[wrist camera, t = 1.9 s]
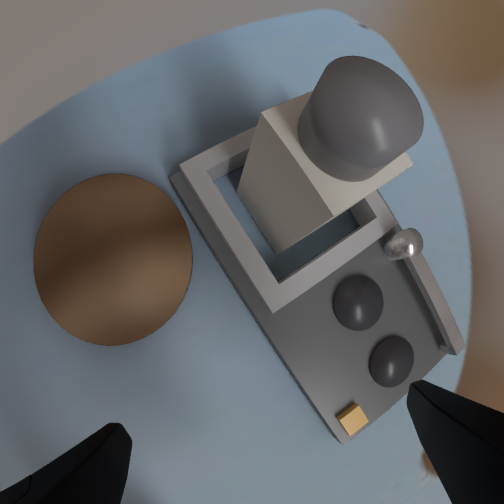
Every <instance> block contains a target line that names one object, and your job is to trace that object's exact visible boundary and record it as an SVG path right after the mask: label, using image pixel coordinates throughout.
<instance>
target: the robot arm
mask: <svg viewBox="0 0 504 504" xmlns="http://www.w3.org/2000/svg"><path fill="white" fill-rule="evenodd" d="M407 408H408V411H409V413H410V416H411V418H412V421H413V424H414V426H415V429H416V432H417V434H418V437H419V439H420V442H421V444H422V446H423V448H424V450H425V452H426V454H427V455H428V457H429V459H430V461H431V463H432V465H433V467H434V469H435V471H436V473H437V475H438V477H439V479H440V480H441V482H442V484H443V486H444V488H445V490H446V492H447V494H448V496H449V498H450V500H451V502H452V504H504V413H502V412H499V411H497V410H494V409H492V408H489V407H487V406H484V405H482V404H479V403H477V402H475V401H472V400H470V399H467V398H464V397H462V396H460V395H458V394H455V393H453V392H450V391H448V390H446V389H443V388H441V387H439V386H436V385H434V384H432V383H429V382H427V381H425V380H418V381H415V382H412V383H411V384H410V386H409V391H408V396H407ZM131 450H132V439H131V437H130V436H129V434H128V433H127V431H126V430H125V428H124V427H123V425H122V424H120V423H108V424H107V425H105V426H104V427H102V428H101V429H100V430H98V431H97V432H95V433H94V434H92V435H91V436H89V437H88V438H86V439H85V440H83V441H82V442H80V443H79V444H78V445H76V446H75V447H73V448H72V449H70V450H69V451H67V452H66V453H64V454H62V455H61V456H59V457H58V458H56V459H55V460H53V461H52V462H50V463H49V464H47V465H46V466H44V467H42V468H41V469H39V470H38V471H36V472H35V473H33V474H32V475H29V476H28V477H26V478H24V479H23V480H21V481H19V482H18V483H16V484H14V485H12V486H11V487H9V488H7V489H5V490H3V491H1V492H0V504H120V503H121V499H122V495H123V492H124V488H125V484H126V480H127V475H128V469H129V463H130V456H131Z"/></svg>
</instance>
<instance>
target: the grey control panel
mask: <svg viewBox="0 0 504 504" xmlns="http://www.w3.org/2000/svg"><path fill="white" fill-rule="evenodd" d="M255 130H256V126H254V127H252V128H250V129H248V130H246V131H244V132H242V133H240V134H238V135H235V136H233V137H231V138H229V139H227V140H225V141H223V142H221V143H219V144H217V145H215V146H213V147H211V148H209V149H208V150H206V151H204V152H202V153H200V154H198V155H196V156H194V157H192V158H190V159H189V160H187V161H185V162H183V163H181V164H179V166H180V171H179V172H177V173H176V174H174V175H172V176H170V177H169V178H170V181H171V185H172V187H173V189H174V191H175V192H176V194H177V196H178V197H179V199H180V201H181V202H182V204H183V206H184V207H185V209H186V211H187V212H188V214H189V215H190V217H191V219H192V220H193V222H194V224H195V225H196V227H197V229H198V230H199V232H200V233H201V235H202V237H203V238H204V240H205V242H206V243H207V245H208V246H209V248H210V250H211V251H212V253H213V255H214V256H215V258H216V259H217V261H218V263H219V264H220V266H221V267H222V269H223V271H224V272H225V274H226V275H227V277H228V278H229V280H230V282H231V283H232V285H233V286H234V288H235V290H236V291H237V293H238V294H239V296H240V297H241V299H242V300H243V302H244V304H245V305H246V307H247V308H248V310H249V311H250V313H251V314H252V316H253V318H254V319H255V321H256V322H257V324H258V325H259V327H260V328H261V330H262V331H263V333H264V335H265V336H266V338H267V339H268V341H269V342H270V344H271V345H272V347H273V348H274V350H275V351H276V353H277V354H278V356H279V357H280V359H281V360H282V362H283V363H284V365H285V366H286V368H287V369H288V371H289V372H290V374H291V375H292V377H293V378H294V380H295V381H296V383H297V384H298V386H299V387H300V389H301V390H302V392H303V393H304V394H305V396H306V397H307V399H308V400H309V402H310V403H311V405H312V406H313V408H314V409H315V411H316V412H317V413H318V415H319V416H320V418H321V419H322V421H323V422H324V424H325V425H326V426H327V428H328V429H329V431H330V432H331V434H332V435H333V436H334V438H335V439H336V440H337V441H338V442H339V443H340V444H342V445H344V444H346V443H347V442H349V441H350V440H351V439H352V438H354V437H355V436H356V435H358V434H359V433H360V432H362V431H363V430H364V429H365V428H367V427H368V426H369V425H370V424H372V423H373V422H374V421H375V420H377V419H378V418H379V417H380V416H381V415H382V414H384V413H385V412H386V411H387V410H388V409H390V408H391V407H392V406H393V405H394V404H395V403H396V402H397V401H399V400H400V399H401V398H402V397H403V396H404V395H405V394H406V393H407V392H408V391H409V386H410V384H411V383H412V382H415V381H418V380H421V379H422V378H423V377H424V376H425V375H426V374H427V373H428V372H429V371H430V370H431V369H432V368H433V367H434V366H435V365H436V364H437V363H438V362H439V361H440V360H441V359H442V358H443V357H444V356H445V355H446V354H445V353H443V352H442V349H441V347H440V344H441V343H442V342H443V341H444V338H443V336H442V334H441V332H440V329H439V327H438V325H437V323H436V321H435V319H434V317H433V315H432V313H431V311H430V309H429V307H428V305H427V303H426V301H425V299H424V297H423V295H422V293H421V291H420V289H419V287H418V285H417V283H416V281H415V279H414V278H413V276H412V274H411V272H410V270H409V268H408V267H407V265H406V263H405V261H404V259H401V260H397V261H392V260H389V259H388V258H387V257H386V256H385V254H384V252H383V242H384V240H385V238H386V237H388V236H390V235H392V234H395V233H398V232H400V231H403V230H402V229H401V227H400V225H399V224H398V222H397V220H396V219H395V217H394V215H393V214H392V212H391V210H390V209H389V207H388V206H387V204H386V202H385V201H384V199H383V198H382V196H381V194H380V193H379V191H378V190H375V191H374V192H372V193H371V194H370V195H368V196H367V197H365V198H364V199H362V200H361V201H359V202H358V203H356V204H355V205H353V206H352V207H350V208H349V210H350V211H351V213H352V214H353V216H354V217H355V219H356V221H357V222H358V224H359V225H360V226H359V227H358V228H356V229H355V230H354V231H352V232H351V233H349V234H348V235H346V236H345V237H343V238H342V239H341V240H339V241H338V242H336V243H335V244H333V245H332V246H330V247H329V248H327V249H326V250H324V251H323V252H322V253H320V254H319V255H317V256H316V257H314V258H313V259H311V260H310V261H308V262H307V263H305V264H304V265H302V266H301V267H299V268H298V269H296V270H295V271H293V272H292V273H290V274H289V275H287V276H286V277H284V278H283V279H281V280H280V281H278V282H277V281H276V279H275V277H274V276H273V274H272V273H271V271H270V270H269V268H268V266H267V265H266V263H265V262H264V260H263V259H262V257H261V255H260V254H259V252H258V251H257V249H256V248H255V246H254V244H253V243H252V241H251V240H250V238H249V237H248V235H247V233H246V232H245V230H244V229H243V227H242V226H241V224H240V222H239V221H238V219H237V218H236V216H235V215H234V213H233V211H232V210H231V208H230V207H229V205H228V204H227V202H226V201H225V199H224V197H223V196H222V194H221V193H220V191H219V190H218V188H217V187H216V185H215V183H214V182H213V181H215V180H217V179H218V178H220V177H222V176H224V175H226V174H228V173H229V172H231V171H233V170H235V169H237V168H239V167H241V166H243V165H244V164H245V162H246V159H247V155H248V152H249V149H250V146H251V142H252V139H253V136H254V133H255Z"/></svg>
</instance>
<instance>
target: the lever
mask: <svg viewBox="0 0 504 504" xmlns="http://www.w3.org/2000/svg"><path fill="white" fill-rule="evenodd" d="M422 248H423V239H422V236H421V234H420V233H419V232H418V231H417V230H416V229H414V228H408V229H405V230H403V231H400V232H398V233H395V234H392V235H390V236H388V237H386V238H385V240H384V242H383V252H384V254H385V256H386V257H387V258H388V259H389V260H392V261H397V260H401V259H404V261H405V263H406V265H407V267H408V268H409V270H410V272H411V274H412V276H413V278H414V279H415V281H416V283H417V285H418V287H419V289H420V291H421V293H422V295H423V297H424V299H425V301H426V303H427V305H428V307H429V309H430V311H431V313H432V315H433V317H434V319H435V321H436V323H437V325H438V327H439V329H440V332H441V334H442V336H443V338H444V341H443V342H442V343H441V344H440V347H441V349H442V352H443V353H445V354H451V355H458V354H459V352H460V351H461V350H462V349H463V348H464V347H465V343H464V340H463V338H462V336H461V333H460V331H459V329H458V326H457V324H456V322H455V319H454V317H453V315H452V313H451V311H450V308H449V306H448V304H447V302H446V300H445V298H444V296H443V294H442V292H441V290H440V288H439V285H438V283H437V281H436V279H435V277H434V276H433V274H432V272H431V270H430V268H429V266H428V264H427V262H426V260H425V258H424V256H423V255H422V253H421V251H422Z"/></svg>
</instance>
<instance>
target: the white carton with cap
mask: <svg viewBox="0 0 504 504" xmlns="http://www.w3.org/2000/svg"><path fill="white" fill-rule="evenodd" d="M423 126H424V119H423V113H422V109H421V106H420V104H419V102H418V99H417V97H416V96H415V94H414V93H413V91H412V90H411V88H410V87H409V86H408V84H407V83H406V82H405V81H404V80H403V79H402V78H401V77H400V76H399V75H397V74H396V73H395V72H394V71H392V70H391V69H390V68H388V67H386V66H385V65H383V64H381V63H379V62H377V61H374V60H372V59H369V58H365V57H360V56H344V57H340V58H337V59H335V60H334V61H332V62H331V63H329V64H328V65H327V67H326V68H325V70H324V72H323V74H322V75H321V77H320V79H319V81H318V83H317V85H316V87H315V88H314V90H313V91H311V92H309V93H306V94H304V95H301V96H299V97H296V98H294V99H291V100H289V101H286V102H284V103H281V104H279V105H277V106H274V107H272V108H270V109H267V110H265V111H263V112H261V114H260V117H259V120H258V123H257V126H256V130H255V133H254V136H253V139H252V142H251V146H250V149H249V152H248V155H247V159H246V162H245V165H244V169H243V172H242V175H241V179H240V182H239V185H238V189H237V192H236V193H237V195H238V196H239V198H240V199H241V201H242V202H243V204H244V206H245V207H246V209H247V210H248V212H249V213H250V215H251V216H252V218H253V219H254V221H255V223H256V224H257V226H258V227H259V229H260V230H261V232H262V233H263V235H264V237H265V238H266V240H267V241H268V243H269V244H270V246H271V247H272V249H273V251H274V252H275V254H276V255H278V254H279V253H281V252H282V251H284V250H286V249H287V248H289V247H290V246H292V245H293V244H295V243H297V242H298V241H300V240H301V239H303V238H304V237H306V236H307V235H309V234H311V233H312V232H314V231H315V230H317V229H318V228H320V227H321V226H323V225H325V224H326V223H328V222H329V221H331V220H332V219H334V218H335V217H337V216H338V215H340V214H341V213H343V212H344V211H346V210H347V209H349V208H350V207H352V206H353V205H355V204H356V203H358V202H359V201H361V200H362V199H364V198H365V197H367V196H368V195H370V194H371V193H372V192H374V191H375V190H377V189H378V188H380V187H381V186H383V185H384V184H386V183H387V182H389V181H390V180H392V179H393V178H395V177H396V176H397V175H399V174H400V173H402V172H403V171H405V170H406V169H408V168H409V167H411V166H412V165H414V164H413V162H412V161H411V159H410V158H409V156H408V155H407V153H406V152H405V151H406V150H408V149H409V148H410V147H412V146H413V145H414V144H415V143H416V142H417V141H418V140H419V138H420V137H421V135H422V132H423Z"/></svg>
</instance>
